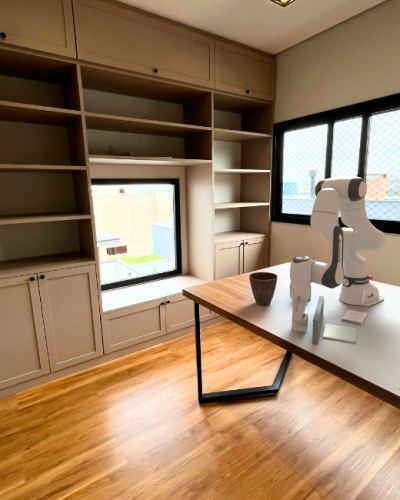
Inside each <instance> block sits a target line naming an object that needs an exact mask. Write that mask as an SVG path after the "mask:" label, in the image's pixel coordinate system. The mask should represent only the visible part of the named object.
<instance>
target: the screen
mask: <svg viewBox="0 0 400 500" xmlns="http://www.w3.org/2000/svg"><path fill="white" fill-rule="evenodd" d="M324 302H325V296H322V295H319V296H318V301H317V304H316V306H315V307H316V308H315V311H314V315H313V319H312V337H311V338H312V339H311V340H312V341H311V342H312V345H313V344H314V345H318V344H319V340H320V334H321V330H322V324H323V320H324V308H325V307H324V305H325V303H324Z"/></svg>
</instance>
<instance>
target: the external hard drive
mask: <svg viewBox="0 0 400 500" xmlns="http://www.w3.org/2000/svg"><path fill="white" fill-rule="evenodd" d="M367 317H368V313H367V312H364V311H358V310H354V309H348V310H347V311H346V312H345V314H344V315H343V316H342V318H341V322H347V323H349V324H353V325H354V324H355V325H358V326H359V325H360V326H362V325H363V323H364V321H365V320H366V318H367Z"/></svg>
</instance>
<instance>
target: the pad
mask: <svg viewBox="0 0 400 500" xmlns="http://www.w3.org/2000/svg"><path fill="white" fill-rule="evenodd" d="M322 338H323V339H328V340H332V341H340V342H345V343H351V344H356V343H357V336H356V328H355V327H350V326H342V325H337V324H336V325H334V324H331V323H330V324H329V323H328V324H327V323H325V324H324V329H323V335H322Z"/></svg>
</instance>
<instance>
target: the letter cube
mask: <svg viewBox="0 0 400 500" xmlns="http://www.w3.org/2000/svg"><path fill="white" fill-rule="evenodd" d="M308 321H309V313H305V312H304V315H303V317H302V320H301V322H300V323H301V326H300V328H296V323H295V321H293V320H292V319H291V330H293V331H298V332H304V333H306V332H307V330H308V327H309V322H308Z"/></svg>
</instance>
